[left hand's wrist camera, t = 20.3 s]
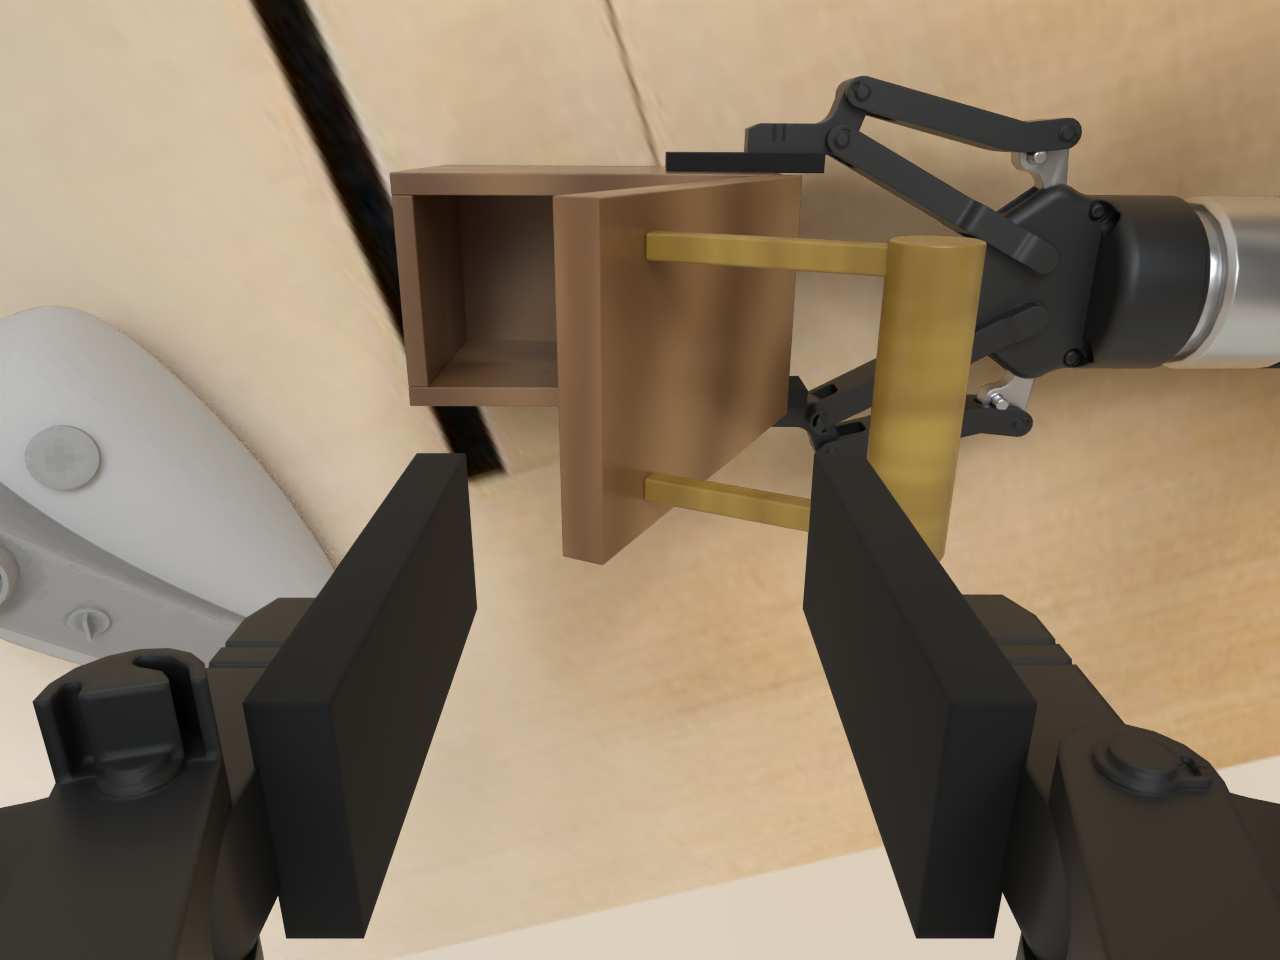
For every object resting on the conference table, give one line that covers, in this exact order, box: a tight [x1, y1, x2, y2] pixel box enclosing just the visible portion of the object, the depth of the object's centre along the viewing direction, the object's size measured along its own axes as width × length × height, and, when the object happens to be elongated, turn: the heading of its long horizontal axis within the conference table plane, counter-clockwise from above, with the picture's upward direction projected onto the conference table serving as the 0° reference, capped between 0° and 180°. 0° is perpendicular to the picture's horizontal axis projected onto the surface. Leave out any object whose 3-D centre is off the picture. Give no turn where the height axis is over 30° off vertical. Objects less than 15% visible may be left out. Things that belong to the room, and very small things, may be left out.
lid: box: [553, 175, 987, 565], centre depth 28 cm, size 16×9×10 cm
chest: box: [390, 165, 783, 406], centre depth 41 cm, size 15×9×10 cm, turn 90°
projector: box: [0, 306, 335, 668], centre depth 44 cm, size 22×23×15 cm
